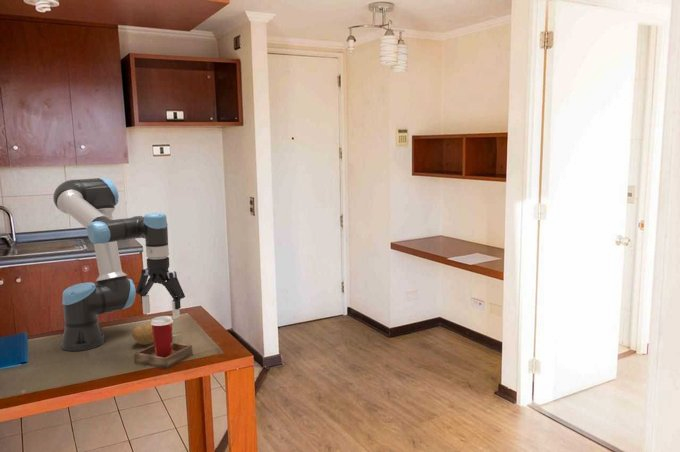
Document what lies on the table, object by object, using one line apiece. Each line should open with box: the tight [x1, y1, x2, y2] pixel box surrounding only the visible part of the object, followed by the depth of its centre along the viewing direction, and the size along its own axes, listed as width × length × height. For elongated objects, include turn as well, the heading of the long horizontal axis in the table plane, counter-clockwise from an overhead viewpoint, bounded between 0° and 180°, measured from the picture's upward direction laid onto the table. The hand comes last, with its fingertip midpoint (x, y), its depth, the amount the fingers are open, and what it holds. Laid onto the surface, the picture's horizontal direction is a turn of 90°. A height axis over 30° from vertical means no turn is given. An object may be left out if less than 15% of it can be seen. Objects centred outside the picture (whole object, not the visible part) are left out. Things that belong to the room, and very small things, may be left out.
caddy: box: [134, 341, 193, 370], centre depth 196 cm, size 14×14×4 cm
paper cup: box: [150, 315, 174, 358], centre depth 195 cm, size 8×8×14 cm
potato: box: [131, 322, 154, 346], centre depth 212 cm, size 10×14×8 cm
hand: (161, 315), depth 194 cm, fingers open, 13 cm apart
